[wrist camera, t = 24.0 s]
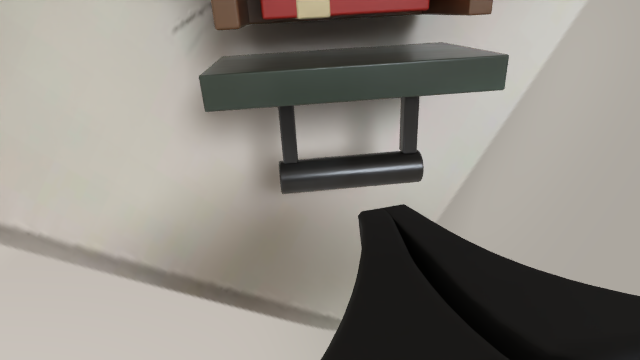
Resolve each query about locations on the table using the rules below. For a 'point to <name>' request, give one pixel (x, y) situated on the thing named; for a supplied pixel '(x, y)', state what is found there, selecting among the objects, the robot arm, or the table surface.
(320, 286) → the table surface
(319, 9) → the red rectangular block
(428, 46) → the drawer
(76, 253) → the table surface
